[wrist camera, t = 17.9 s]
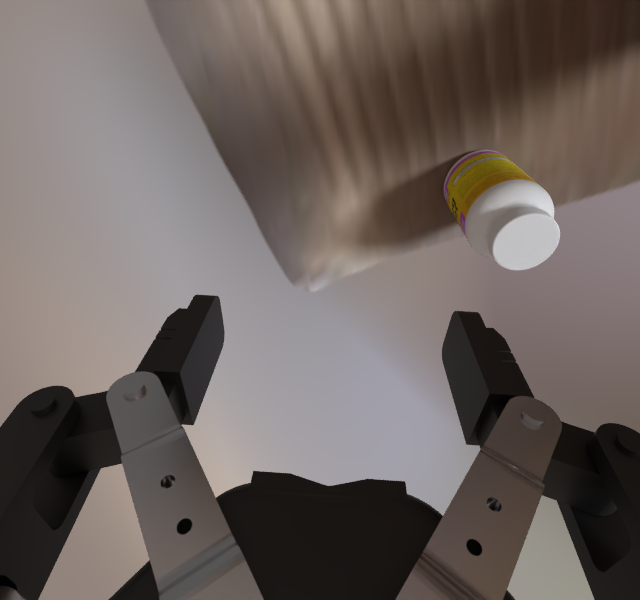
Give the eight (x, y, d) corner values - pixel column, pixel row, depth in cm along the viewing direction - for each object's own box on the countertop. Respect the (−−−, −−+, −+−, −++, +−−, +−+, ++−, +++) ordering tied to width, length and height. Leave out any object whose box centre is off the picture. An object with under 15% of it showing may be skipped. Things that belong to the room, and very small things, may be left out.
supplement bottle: (429, 179, 38) (460, 238, 28) (491, 132, 35) (551, 178, 25) (463, 226, 41) (504, 295, 31) (523, 185, 38) (591, 247, 28)
